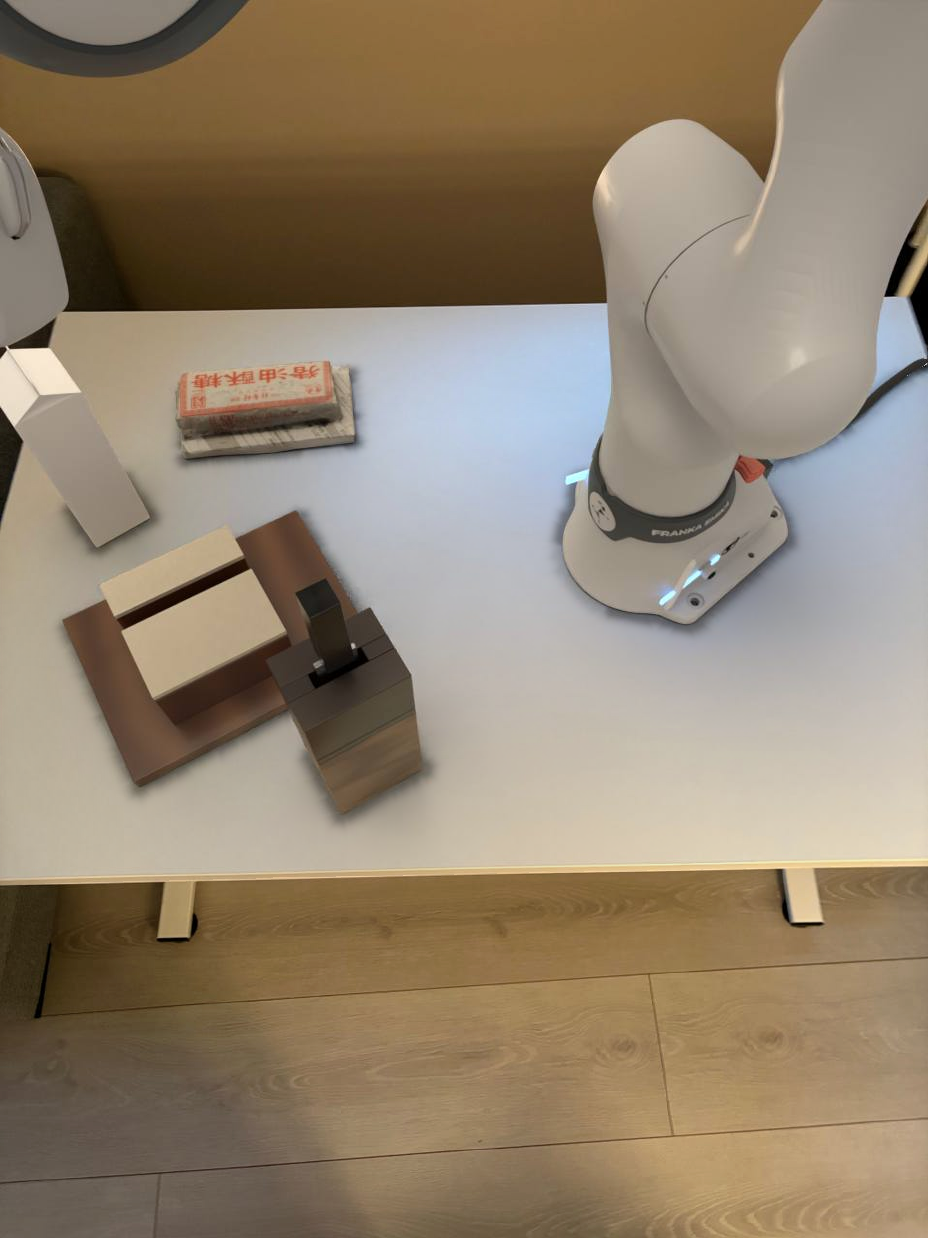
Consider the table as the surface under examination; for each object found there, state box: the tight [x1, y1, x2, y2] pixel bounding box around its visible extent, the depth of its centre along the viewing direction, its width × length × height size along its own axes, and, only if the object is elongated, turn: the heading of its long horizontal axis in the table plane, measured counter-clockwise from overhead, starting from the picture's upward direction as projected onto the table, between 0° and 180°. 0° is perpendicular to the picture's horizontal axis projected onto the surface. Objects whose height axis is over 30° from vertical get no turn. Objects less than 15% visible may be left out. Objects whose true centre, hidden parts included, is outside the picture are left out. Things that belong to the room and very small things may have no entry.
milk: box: [0, 345, 151, 548], centre depth 82 cm, size 6×6×22 cm
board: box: [61, 509, 359, 788], centre depth 85 cm, size 24×18×2 cm
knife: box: [295, 578, 361, 686], centre depth 60 cm, size 3×2×16 cm, turn 121°
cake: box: [121, 569, 292, 725], centre depth 80 cm, size 12×7×7 cm, turn 120°
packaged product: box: [175, 360, 356, 459], centre depth 95 cm, size 18×5×10 cm
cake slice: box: [99, 524, 250, 630], centre depth 83 cm, size 12×4×6 cm, turn 120°
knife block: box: [266, 606, 423, 816], centre depth 71 cm, size 8×6×21 cm
